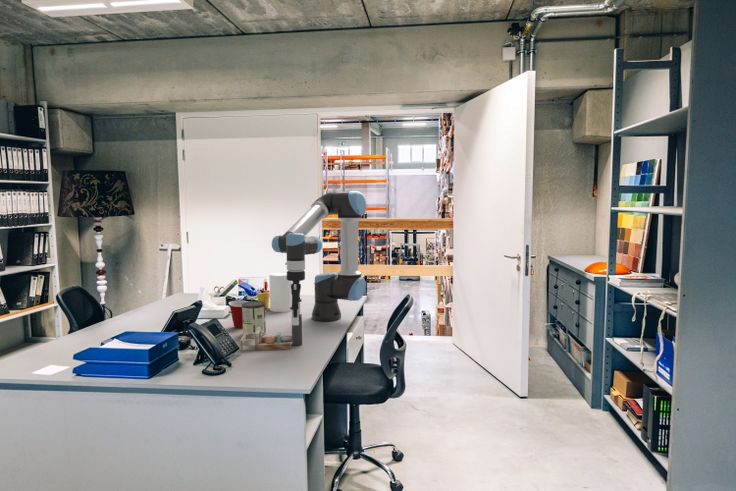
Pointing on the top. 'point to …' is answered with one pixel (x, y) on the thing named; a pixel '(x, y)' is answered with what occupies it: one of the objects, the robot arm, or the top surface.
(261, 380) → the top surface
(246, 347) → the lane
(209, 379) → the top surface
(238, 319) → the plastic cup
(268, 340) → the brown egg
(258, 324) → the coffee can
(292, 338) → the striker
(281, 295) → the canister
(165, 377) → the top surface
